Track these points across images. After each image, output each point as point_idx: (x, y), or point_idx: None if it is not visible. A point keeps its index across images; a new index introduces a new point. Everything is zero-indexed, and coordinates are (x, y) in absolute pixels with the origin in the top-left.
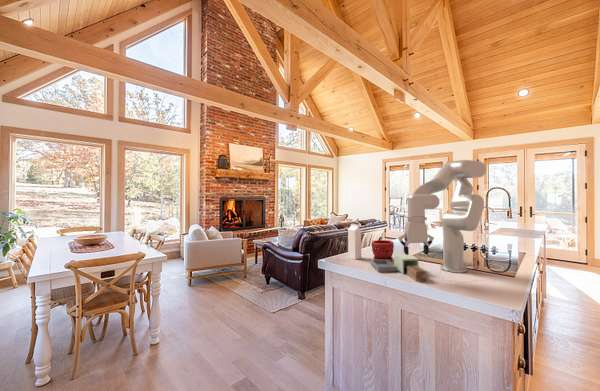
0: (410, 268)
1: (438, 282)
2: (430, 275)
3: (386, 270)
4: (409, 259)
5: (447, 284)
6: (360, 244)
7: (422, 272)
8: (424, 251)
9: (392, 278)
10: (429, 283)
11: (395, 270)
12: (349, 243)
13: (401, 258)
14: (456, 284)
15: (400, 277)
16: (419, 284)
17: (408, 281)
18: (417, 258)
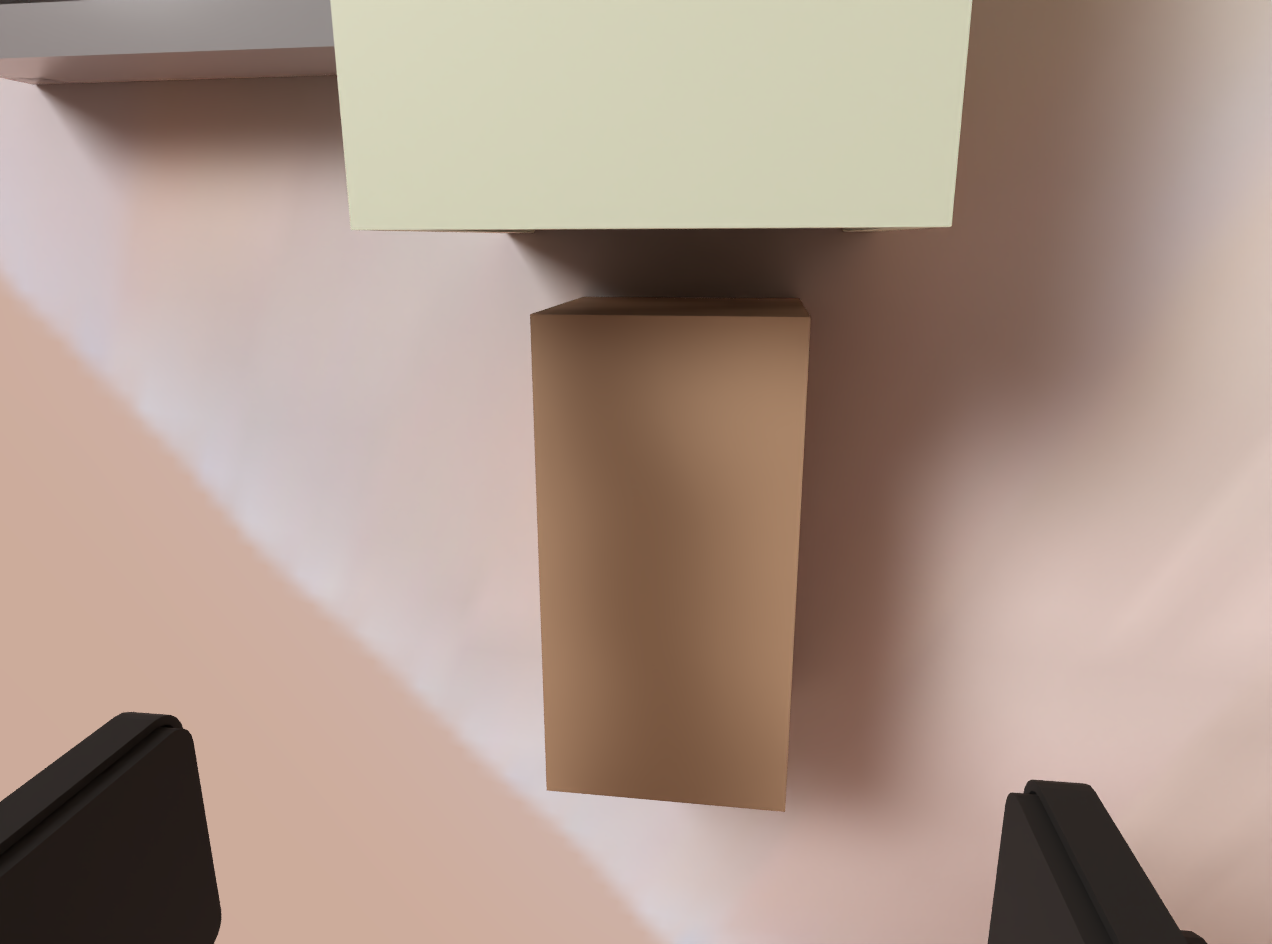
0: (541, 520)
1: (971, 764)
2: (1083, 371)
3: (174, 71)
4: (605, 225)
5: None
6: None
7: (698, 787)
8: (1027, 938)
9: (238, 486)
10: None
11: None
12: None
13: (345, 128)
14: (1234, 887)
15: (395, 445)
16: (589, 801)
17: (465, 657)
18: (948, 161)
